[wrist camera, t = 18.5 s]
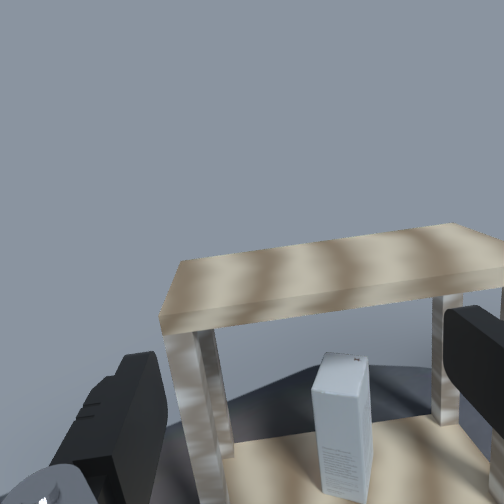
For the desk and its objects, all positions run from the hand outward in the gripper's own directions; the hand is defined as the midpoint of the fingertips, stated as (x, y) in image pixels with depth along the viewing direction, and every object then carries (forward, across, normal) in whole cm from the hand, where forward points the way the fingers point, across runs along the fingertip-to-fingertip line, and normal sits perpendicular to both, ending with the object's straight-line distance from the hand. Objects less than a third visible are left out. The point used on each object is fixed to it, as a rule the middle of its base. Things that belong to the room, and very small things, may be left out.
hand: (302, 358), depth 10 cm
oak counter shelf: (+20, -6, +28) cm, 35 cm away
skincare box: (+20, -6, +27) cm, 34 cm away
